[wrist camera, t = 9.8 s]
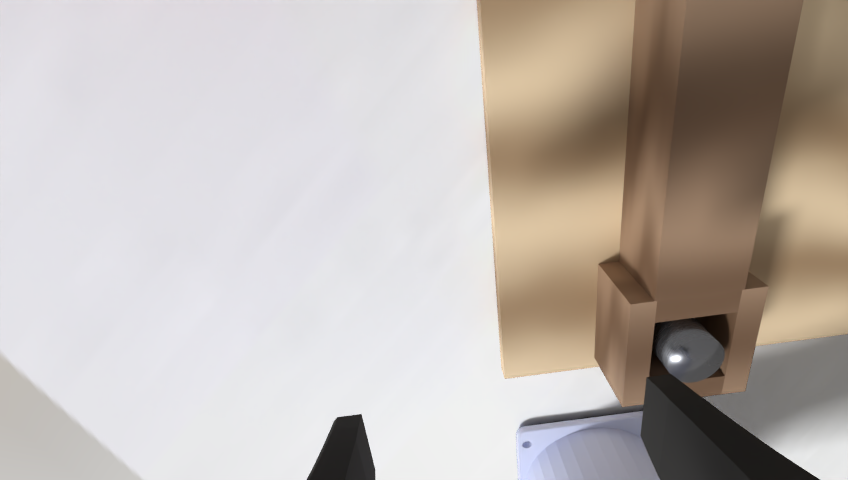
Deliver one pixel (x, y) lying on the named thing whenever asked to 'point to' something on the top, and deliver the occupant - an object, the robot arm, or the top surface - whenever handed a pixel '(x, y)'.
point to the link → (694, 184)
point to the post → (687, 349)
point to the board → (605, 165)
